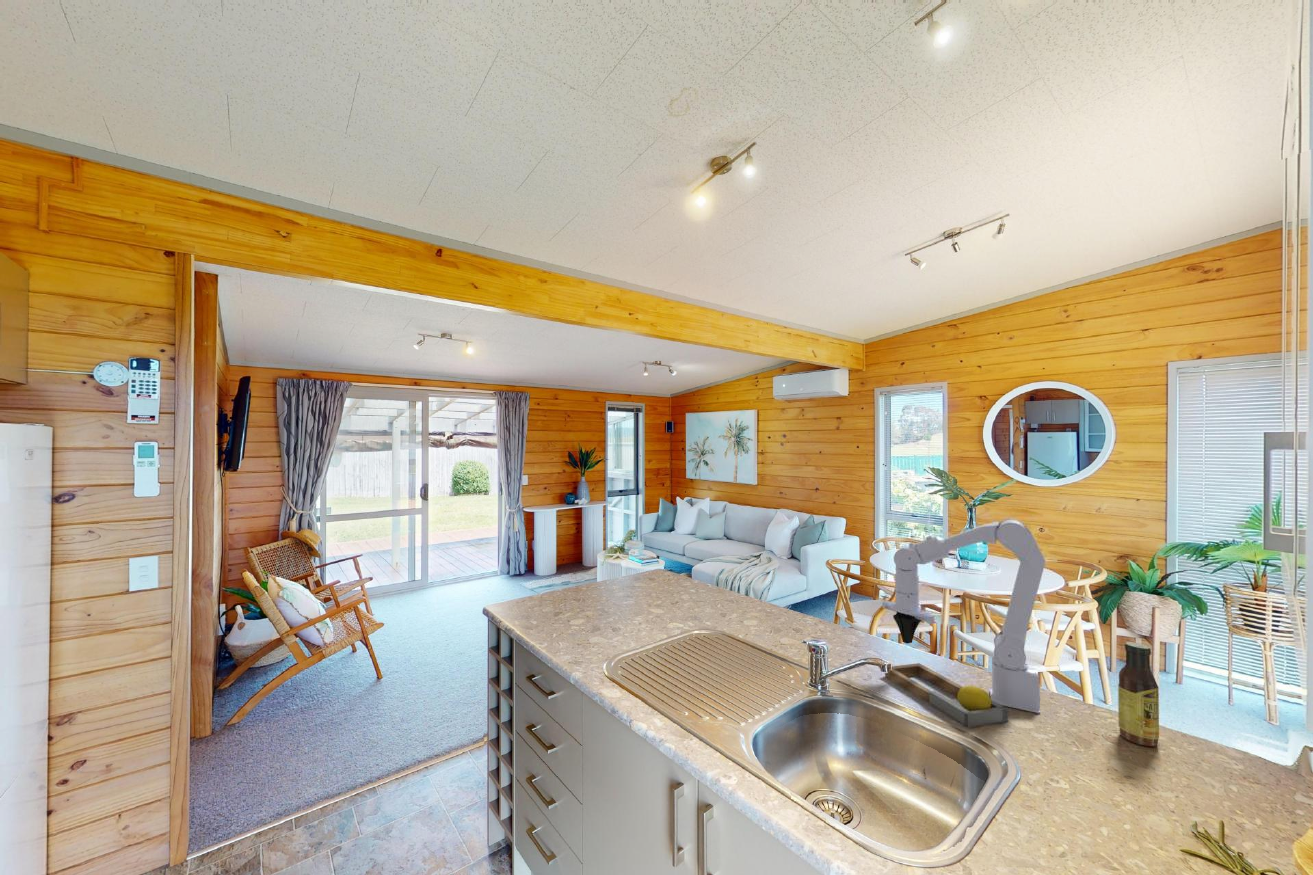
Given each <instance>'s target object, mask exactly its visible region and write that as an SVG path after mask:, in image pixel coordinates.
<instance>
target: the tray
mask: <svg viewBox="0 0 1313 875" xmlns="http://www.w3.org/2000/svg"><path fill="white" fill-rule="evenodd" d="M963 687H964V686H962V687H961V688H963ZM929 705H930V706H932V707H933V708H935V709H937V710H938V711H940V712H941V713H943V715H946V716H948V717H949V718H951V719H952V720H955V721H956V722H957V723H958V724H960V725H962V726H963V727H965V728H967V729H973V728H979V727H984V726H985V725H986V726H990V725H991V726H992V725H998V724H997V723H999V724H1004V723H1008V721H1009V716H1008V712H1009V711H1008V710H1009V709H1008V708H1007V706H1003V705H1000V704H998V703H996V702H994V701H992V700H991V707H990V708H989V709H983V710H976V711H968V710H966V709H965V708H963V707H962V706H961V704H960V703H959V701H958V698H951V699H949V698H948V697H946V696H944V695H942V694H941V693H939V692H938V691H936V690H930V692H929Z"/></svg>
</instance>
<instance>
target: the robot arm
mask: <svg viewBox="0 0 1313 875" xmlns="http://www.w3.org/2000/svg"><path fill="white" fill-rule="evenodd" d="M997 541H998V542H999V543H1000V544H1001V545H1002V546H1004V547H1005V548H1006V549H1008V551H1010V552H1012V554H1014V556H1015V557H1016V558H1017V560H1018V561H1019V566H1018V570H1017V573H1016V577H1015V582H1014V585H1013V589H1012V593H1011V596H1010V600H1009V604H1008V608H1007V612H1006V615H1005V617H1004V622H1003V623H1002V628H1001V629H1000V631H999V632H998V633H997V634H996V635H995V637H994V640H993V643H994V644H993V646H994V649H993V655H994V657H992V658H991V677H992V679H991V682H992V686H991V688H989V694H990V695H989V696H990V698H991V700H992V701H994V702H996V703H998V704H1000V705H1002V706H1004V707H1008V708H1013V709H1017V710H1022V711H1028V712H1032V713H1035V714H1036V713H1037V714H1041V705H1040V704H1041V703H1040V702H1041V694H1040V693H1041V692H1040V676H1039V671H1038V669H1037V668H1033V667H1030V666H1028V663H1027V654H1026V652H1025V645H1026V639H1027V632H1028V628H1029V624H1030V620H1031V617H1032V612H1033V610H1034V607H1035V606H1034V605H1035V602H1036V600H1037V599H1036V598H1037V595H1038V590H1039V588H1040V584H1041V581H1042V580H1041V579H1042V576H1043V574H1044V573H1043V572H1044V568H1045V565H1046V560H1045V556H1044V555H1043V553H1042V551H1041V549H1040V547H1039V545H1038V542H1037V540H1036V539H1035V537H1034V535H1033V533H1032V531H1031V530H1030V529H1029V528H1027V526H1026V525H1025V524H1024V523H1023V522H1022V521H1020V520H1018V519H1015V518H1006V519H1004V520H1001V521H1000V522H999V521H994V522H993V521H992V522H990V523H985V524H982V525H978V526H976V527H974V528H970V529H968V530H965V531H962V532H960V533H959V532H958V533H957V534H954V535H952V536H949V537H947V538H943V537H940V536H937V535H936V536H932V535H928V536H926V539H923V540H921V541H918V542H915V543H913V542H910V543H908V546H907V545H904V546H902V547H900V548H899V549H898V550H896V552H895V553H894V555H893V561H894V565H895V573H894V577H895V578H894V580H895V584H894V588H895V593H894V594H895V596H894V598H895V602H894V601H890V600H883V601H882V602H881V604H882V605H881V606H882V607H881V608H882V609H884V610H890V611H892V612H895V614H893V615H892V616H893V620H894V621H895V623H896V626H897V627H898V630H899V632H900V636H901V640H902V643H904V644H912V643H913V639H914V636H915V634H916V633H915V632H916V630H917V628H918V626H919V625H920V623H921V622H925V623H926V624H929V625H931V624H934V623H935V615H934V614H932V613H929V612H927V611H925V610H923V609H921V608H920V593H919V592H920V591H919V590H920V589H919V587H920V585H919V584H920V583H919V582H920V581H919V580H920V579H919V573H918V572H919V571H918V570H919V568H918V565H926V564H930V563H932V562H936V561H939V560H942V559H945V558H948V556H949V554H950V552H951V551H953V550H954V551H955V550H956V549H960V548H964V547H968V546H971V545H973V544H977V543H978V544H979V543H982V542H984V543H989V544H993V545H996V544H997Z"/></svg>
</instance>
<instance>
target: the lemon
mask: <svg viewBox="0 0 1313 875" xmlns="http://www.w3.org/2000/svg"><path fill="white" fill-rule="evenodd" d="M962 687H963V688H961V689H960V690H959V692H958V696H957V697H956V699H958V701H959V703H960V704H961V706H962V707H963V708H965V709H966V710H968V711H976V710H983V709H989V708H990V707H991V696H990V695H989V693H988V692H987V691H986V690H984V689H983V688H981V687H979V686H973V685H966V686H965V685H964V686H962Z"/></svg>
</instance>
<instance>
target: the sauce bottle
mask: <svg viewBox="0 0 1313 875" xmlns="http://www.w3.org/2000/svg"><path fill="white" fill-rule="evenodd" d="M1151 649H1152V648H1151V647H1150V646H1148V645H1146V644H1143V643H1138V642H1131V641H1126V642H1124V650H1125V663H1126V664H1125V665H1123V667H1121V669H1120V670H1119V672H1118V684H1117V685H1118V686H1117V688H1118V689H1117V690H1118V696H1117V698H1118V701H1117V703H1118V705H1117V707H1118V714H1117V715H1118V716H1117V717H1118V727H1119V735H1121V737H1122V738H1124V739H1125V740H1127V741H1129V742H1131V743H1134V744H1136V745H1140V746H1144V747H1156V746H1157V745H1158V744H1159V739H1160V709H1159V708H1160V704H1159V702H1160V700H1159V695H1160V694H1159V686H1158V682H1157V681H1156V679H1155V677H1154V673H1153V671H1152V669H1151V663H1150V660H1151V659H1150V656H1151V655H1152V652H1151ZM1143 722H1145V723H1143Z"/></svg>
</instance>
